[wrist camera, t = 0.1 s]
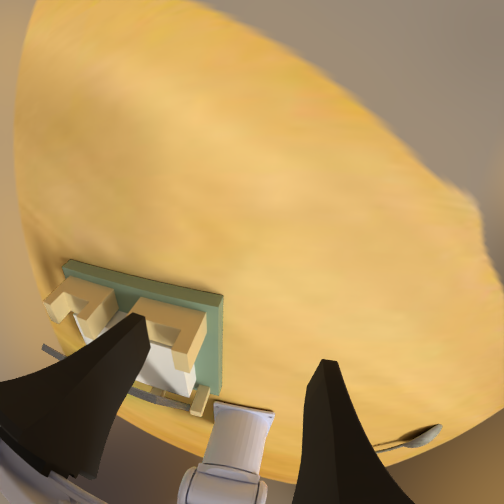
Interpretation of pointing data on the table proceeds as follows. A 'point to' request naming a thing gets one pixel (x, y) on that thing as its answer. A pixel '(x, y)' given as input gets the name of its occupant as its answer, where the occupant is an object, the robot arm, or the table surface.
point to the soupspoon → (418, 439)
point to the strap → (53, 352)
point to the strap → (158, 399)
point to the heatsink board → (172, 296)
